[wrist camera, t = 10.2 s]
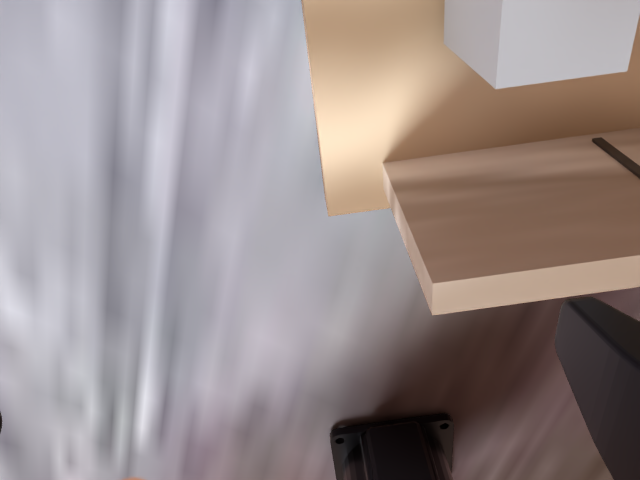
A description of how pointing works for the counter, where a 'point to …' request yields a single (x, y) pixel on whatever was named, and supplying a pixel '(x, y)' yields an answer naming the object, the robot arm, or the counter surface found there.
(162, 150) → the counter surface
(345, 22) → the gauge base
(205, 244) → the counter surface
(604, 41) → the light grey block
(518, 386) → the counter surface
